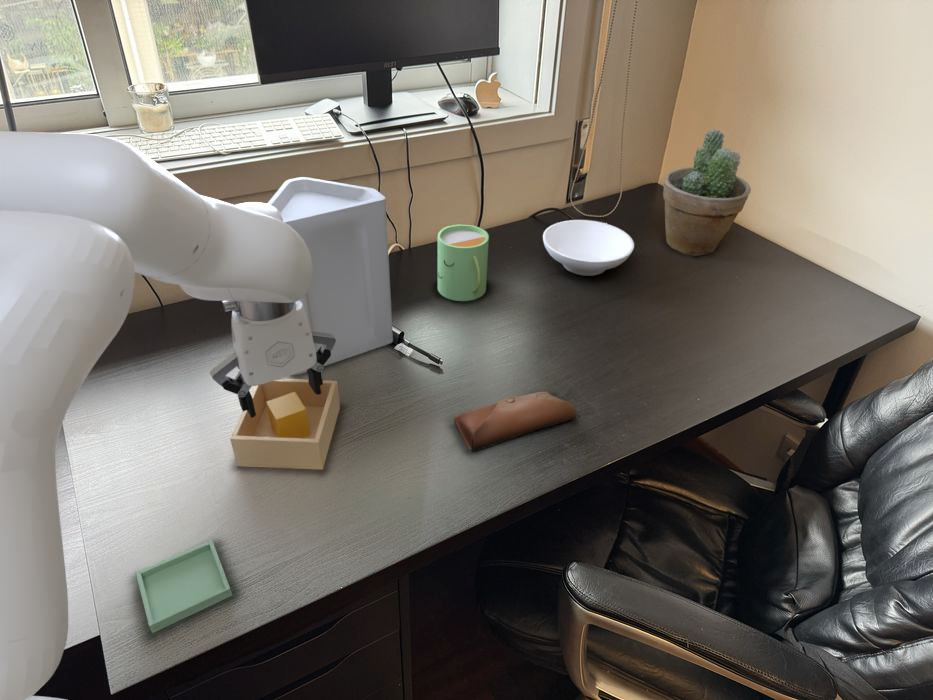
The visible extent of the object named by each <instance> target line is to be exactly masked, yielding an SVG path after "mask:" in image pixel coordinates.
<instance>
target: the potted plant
mask: <svg viewBox="0 0 933 700" xmlns="http://www.w3.org/2000/svg"><path fill="white" fill-rule="evenodd" d="M704 136H705V137H703V142H702V146H699V147H697V149H696V150H695V155H694V157H693V166H691V167H690V166H689V167H683V168H682V167H681V168H677V169H674V170H671V171H670V172H668V173H667V174H666V175H665V177H664V182H663V190H662V191H663V192H662V197H663V200H664V223H665V240H666V241H665V242H666V244H667V245H668V246H669V247H670V248H671V249H673V250H674V251H676V252H677V253H679V254H683V255H686V256H691V257H699V256H701V257H702V256H707V255H709V254H712V253H713V252H715V250H716V249H717V247H718V246H719V244H720V242H721V241H722V240H723V238H724V236H725V235H726V234H727V233H728V232H729V231H730V230H731V227H732V225H733V223H734V222H735V220H736V218H737V217H738V215H739V213H740V212H742V210H743V209H744V207H745V204H746V202H747V200H748V198H749V195H750V194H751V192H752V189H751V186H750V184H749V183H748V182H747V181H746V180H745V179H743V178H742V177H740V176H738V175H737V172H738V170H739V168H738V167H739V166H740V164H741V160H740V159H741V154H740V153H739V152H735V151H732V150H731V149H730V148H723V146H724V138H725V134H724V133H722V131H720V130H716V129H710V130H708V131H707V132H706V133H705V134H704Z"/></svg>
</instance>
